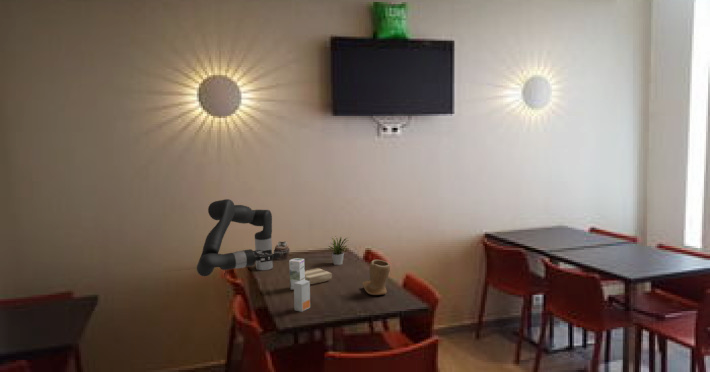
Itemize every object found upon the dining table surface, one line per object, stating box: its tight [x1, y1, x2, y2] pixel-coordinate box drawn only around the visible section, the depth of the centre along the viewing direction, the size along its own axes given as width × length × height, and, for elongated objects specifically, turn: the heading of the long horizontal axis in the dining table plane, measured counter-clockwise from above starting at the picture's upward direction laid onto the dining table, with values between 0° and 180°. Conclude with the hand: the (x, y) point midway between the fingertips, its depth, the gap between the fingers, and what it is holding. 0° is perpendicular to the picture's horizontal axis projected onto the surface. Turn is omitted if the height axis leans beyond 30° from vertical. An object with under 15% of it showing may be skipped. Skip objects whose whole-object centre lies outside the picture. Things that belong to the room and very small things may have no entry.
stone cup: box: [362, 259, 391, 296], centre depth 230 cm, size 15×12×15 cm
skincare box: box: [293, 280, 311, 313], centre depth 209 cm, size 6×4×12 cm
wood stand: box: [305, 267, 333, 286], centre depth 250 cm, size 13×13×4 cm
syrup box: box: [288, 257, 306, 291], centre depth 237 cm, size 6×6×14 cm
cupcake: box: [273, 241, 290, 261], centre depth 297 cm, size 10×10×10 cm
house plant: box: [328, 235, 350, 266], centre depth 280 cm, size 14×14×16 cm
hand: (275, 253), depth 229 cm, fingers open, 8 cm apart
